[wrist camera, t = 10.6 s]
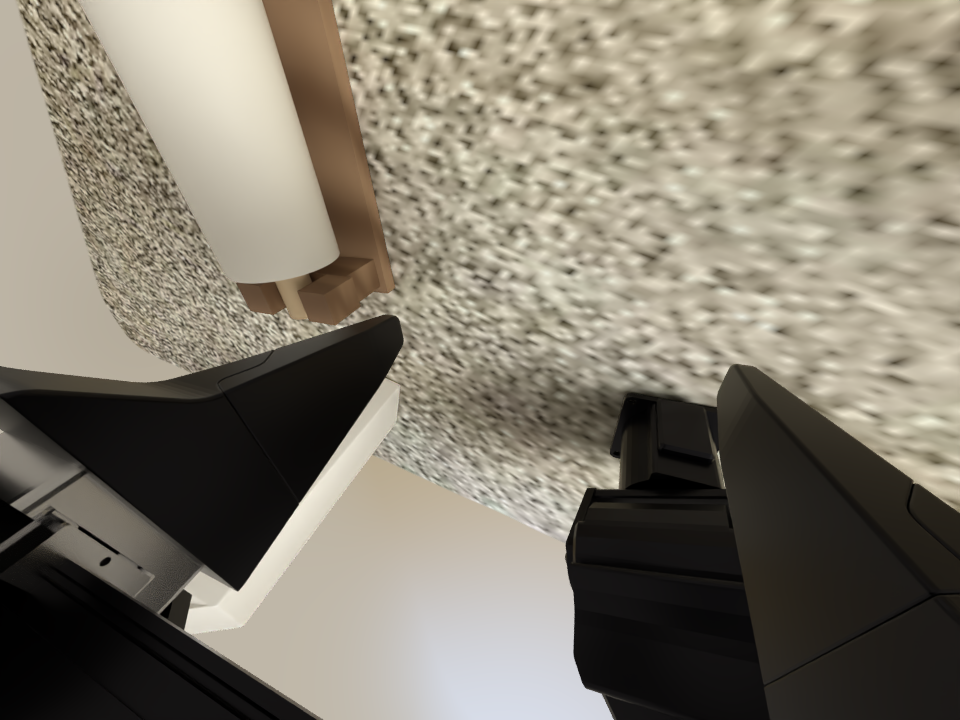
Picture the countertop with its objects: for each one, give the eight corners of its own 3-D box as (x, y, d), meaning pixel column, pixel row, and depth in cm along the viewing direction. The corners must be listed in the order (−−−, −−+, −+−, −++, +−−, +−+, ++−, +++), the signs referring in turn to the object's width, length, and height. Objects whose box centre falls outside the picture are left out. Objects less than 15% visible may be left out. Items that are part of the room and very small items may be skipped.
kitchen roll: (372, 308, 23) (274, 350, 19) (329, 283, 26) (240, 316, 23) (180, -389, 9) (-250, -667, 6) (146, -241, 13) (-131, -358, 10)
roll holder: (395, 287, 25) (337, 332, 20) (321, 278, 27) (254, 317, 23) (268, -282, 12) (24, -532, 7) (146, -212, 14) (-104, -368, 9)
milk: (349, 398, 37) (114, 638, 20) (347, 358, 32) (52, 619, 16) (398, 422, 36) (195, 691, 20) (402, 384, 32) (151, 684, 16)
